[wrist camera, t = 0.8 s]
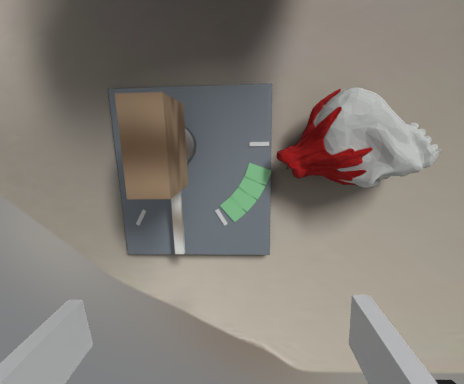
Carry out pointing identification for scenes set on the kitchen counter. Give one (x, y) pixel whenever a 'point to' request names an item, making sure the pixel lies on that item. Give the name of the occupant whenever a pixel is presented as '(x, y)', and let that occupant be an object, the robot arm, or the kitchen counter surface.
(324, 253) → the kitchen counter surface
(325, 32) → the kitchen counter surface
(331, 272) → the kitchen counter surface
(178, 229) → the knob
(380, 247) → the kitchen counter surface
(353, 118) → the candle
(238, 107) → the dial board
